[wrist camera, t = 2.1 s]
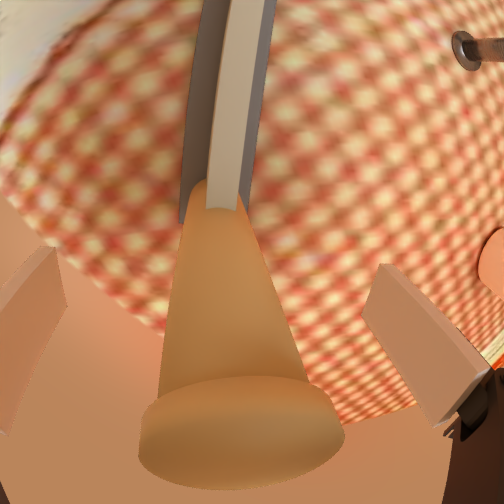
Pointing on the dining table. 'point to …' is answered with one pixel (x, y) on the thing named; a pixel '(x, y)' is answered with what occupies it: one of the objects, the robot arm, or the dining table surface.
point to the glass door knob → (476, 50)
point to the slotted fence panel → (231, 326)
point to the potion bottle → (493, 263)
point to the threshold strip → (205, 95)
